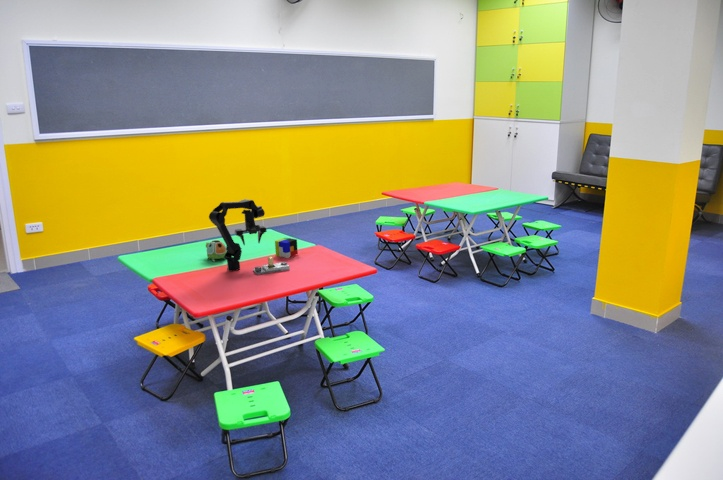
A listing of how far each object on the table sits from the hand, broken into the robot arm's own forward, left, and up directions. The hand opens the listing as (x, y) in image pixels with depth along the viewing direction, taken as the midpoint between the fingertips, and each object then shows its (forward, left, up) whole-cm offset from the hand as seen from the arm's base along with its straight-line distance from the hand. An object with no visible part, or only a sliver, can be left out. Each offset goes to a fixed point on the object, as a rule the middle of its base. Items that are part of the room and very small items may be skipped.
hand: (251, 244), depth 356 cm
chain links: (+6, -21, -12) cm, 25 cm away
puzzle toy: (+24, +6, -12) cm, 28 cm away
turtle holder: (-19, +21, -12) cm, 31 cm away
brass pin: (+6, -21, -12) cm, 25 cm away
